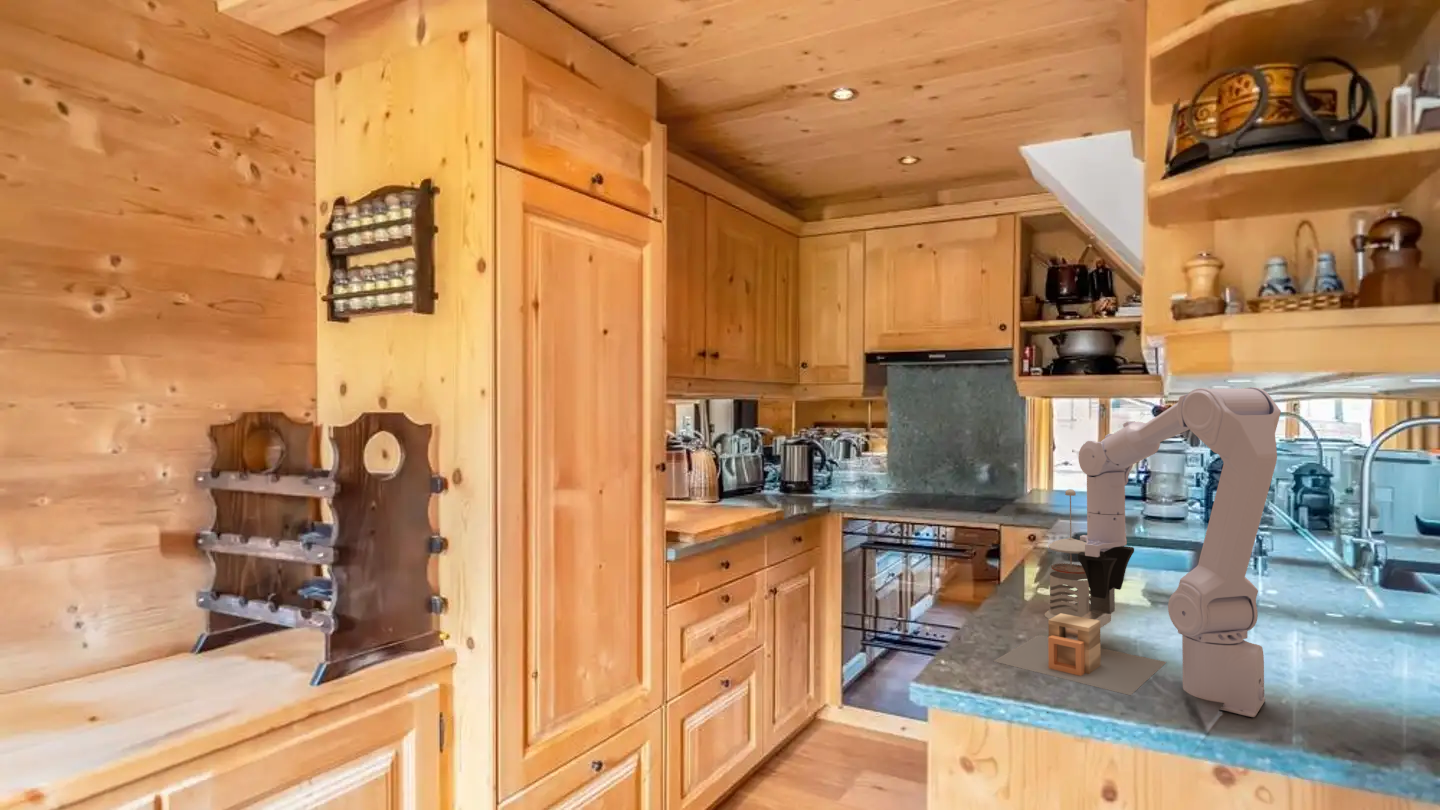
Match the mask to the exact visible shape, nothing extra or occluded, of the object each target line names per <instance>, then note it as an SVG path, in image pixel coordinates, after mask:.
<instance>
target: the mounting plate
mask: <svg viewBox="0 0 1440 810" xmlns="http://www.w3.org/2000/svg"><path fill="white" fill-rule="evenodd" d="M1048 637H1049V636H1046V635H1041V634H1037V635H1036V636H1034V637H1032V638H1030V639H1028V640H1026V642H1024V643H1022V644H1021V645H1019V646H1017V647H1015V648H1013V649H1012V650H1010V651H1007V652H1006V653H1005V654H1003V655H1001V656H1000V657H998V658H996V659H994V660H993V661H992V662H993V663H996V664H997V663H998V664H1001V665H1007V666H1009V667H1015V668H1018V669H1023V670H1024V671H1025V670H1026V671H1031V672H1034V673H1038V674H1042V675H1046V676H1050V677H1055V678H1058V679H1063V680H1066V681H1070V682H1075V683H1079V684H1083V685H1087V686H1091V687H1094V688H1095V687H1096V688H1099V689H1103V690H1106V691H1111V692H1115V693H1118V694H1123V695H1128V696H1132V695H1133V694H1135V692H1136V691H1137V690H1138V689H1140V688H1141V687H1142V686H1143V685H1144V684H1145V683H1146V682H1147V681H1148V680H1149V679H1151V678H1152V676H1154V675H1155V673H1157V672H1159V670H1160V669H1161V668H1162V667H1164V666H1165V665H1166V664H1167V661H1163V660H1159V659H1154V658H1149V657H1145V656H1139V655H1135V654H1130V653H1125V652H1120V651H1116V650H1111V649H1107V648H1102V647H1100V653H1101V665H1100V666H1099V667H1098V668H1096V669H1095V670H1094V671H1093V672H1091V673H1090V674H1087V673H1084V674H1083V675H1082V676H1080V675H1075V674H1071V673H1067V672H1063V671H1058V670H1054V669H1050V668H1049V659H1048Z"/></svg>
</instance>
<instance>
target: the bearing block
mask: <svg viewBox="0 0 1440 810" xmlns="http://www.w3.org/2000/svg"><path fill="white" fill-rule="evenodd" d="M1047 621H1048V623H1047V624H1048V625H1047V626H1048V637H1050V636H1051V635H1054V636H1059V637H1064V638H1065V627H1067V628H1072V629H1077V630H1078V640H1079V641H1084V651H1085V673H1087V674H1090V673H1091V672H1093V671H1094V670H1095V669H1096V668H1098V667H1099V666H1100V665H1101V653H1100V648H1101V628H1100V621H1099V620H1094V619H1089V618H1083V617H1078V616H1073V615H1067V614H1062V613H1060V614H1058V615H1056V616H1055V617H1053V618H1051V619H1048V620H1047ZM1057 662H1061V663H1065V664H1070V665H1074V666H1076V655H1075V648H1072V647H1067V646H1063V645H1058V644H1057Z"/></svg>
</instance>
